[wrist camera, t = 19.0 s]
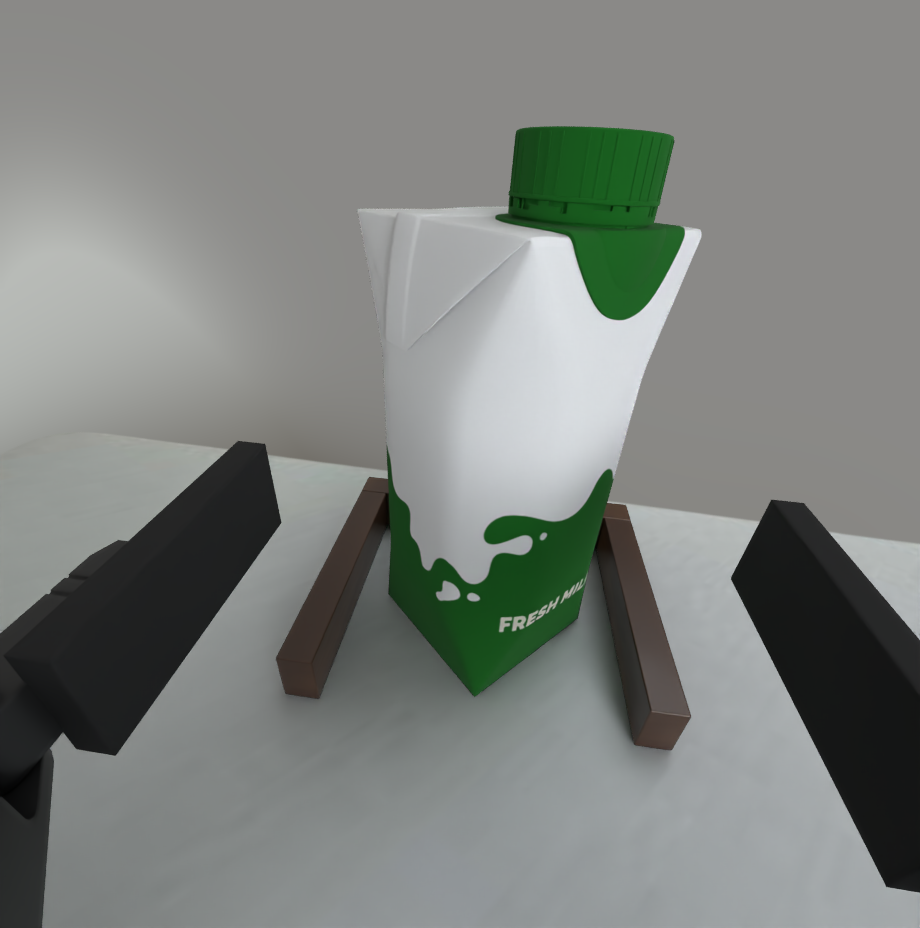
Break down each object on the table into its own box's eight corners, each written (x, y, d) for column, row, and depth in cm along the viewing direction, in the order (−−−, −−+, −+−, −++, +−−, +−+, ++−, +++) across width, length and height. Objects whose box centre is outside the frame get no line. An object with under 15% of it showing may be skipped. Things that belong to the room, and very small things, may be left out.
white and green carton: (472, 728, 19) (545, 108, 8) (363, 590, 24) (319, 124, 14) (603, 622, 23) (760, 146, 13) (486, 527, 29) (526, 146, 18)
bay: (616, 535, 29) (626, 504, 28) (672, 751, 18) (692, 717, 17) (370, 507, 30) (368, 476, 29) (284, 694, 19) (274, 658, 18)
